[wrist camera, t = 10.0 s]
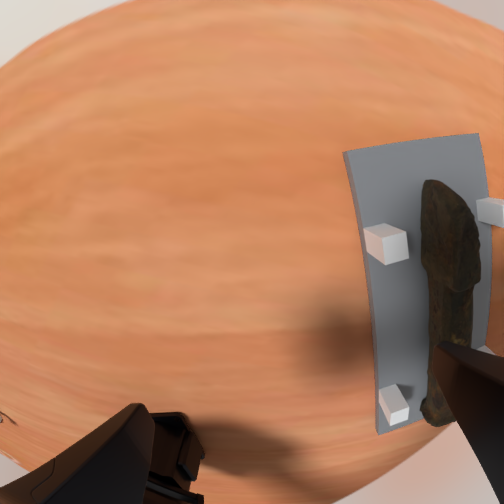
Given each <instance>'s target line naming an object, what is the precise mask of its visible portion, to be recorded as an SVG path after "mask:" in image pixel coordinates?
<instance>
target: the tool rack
mask: <svg viewBox="0 0 504 504" xmlns="http://www.w3.org/2000/svg"><path fill="white" fill-rule="evenodd" d="M342 153H343V157H344V161H345V165H346V169H347V174H348V178H349V183H350V187H351V192H352V197H353V201H354V207H355V212H356V217H357V222H358V228H359V234H360V239H361V246H362V252H363V258H364V265H365V272H366V280H367V288H368V296H369V305H370V314H371V325H372V337H373V351H374V369H375V399H376V431H377V433H378V435H381V434H384V433H387V432H389V431H392V430H395V429H398V428H401V427H403V426H406V425H408V424H411V423H414V422H416V421H419V420H421V419H423V418H424V417H423V415H422V412H421V411H419V410H420V405H421V402H422V400H423V399H425V398H427V383H428V382H427V381H428V375H427V369H428V358H429V332H428V322H429V288H428V276H427V272H426V270H425V269H424V268H423V266H422V264H421V235H422V234H421V230H420V226H421V222H420V218H421V194H422V188H423V184H424V182H425V180H429V179H434V180H439V181H441V182H443V183H444V184H446V185H447V186H448V187H450V188H451V189H452V190H453V191H455V192H456V193H457V194H458V195H459V196H461V197H462V198H463V199H464V200H465V202H466V203H467V205H468V207H469V208H470V209H471V212H472V213H473V215H474V216H475V222H476V225H477V227H478V231H479V238H478V239H479V241H480V244H481V246H480V250H479V252H480V260H481V280H480V282H479V283H477V284H476V285H475V286H474V290H473V330H472V344H471V348H473V349H476V350H479V351H483V352H486V353H490V354H493V355H496V354H495V353H493V352H492V351H491V350H490V349H489V348H488V347H487V346H486V345H485V342H486V335H487V327H488V319H489V309H490V297H491V279H492V233H491V225H495V226H498V227H502V228H504V200H503V199H497V198H491V197H489V193H488V185H487V177H486V170H485V164H484V158H483V153H482V147H481V142H480V138H479V133H475V134H464V135H454V136H444V137H435V138H427V139H420V140H412V141H405V142H398V143H392V144H385V145H379V146H373V147H367V148H361V149H356V150H350V151H346V152H342Z"/></svg>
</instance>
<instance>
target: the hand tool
mask: <svg viewBox="0 0 504 504" xmlns="http://www.w3.org/2000/svg"><path fill="white" fill-rule="evenodd" d="M420 222H421V226H420V230H421V234H422V235H421V264H422V266H423V268H424V269H425V270H426V272H427V276H428V288H429V322H428V332H429V358H428V369H427V375H428V381H427V382H428V383H427V398H425V399H423V400H422V402H421V405H420V410H419V411H421V412H422V415H423V417H424V418H425V420H426V421H427V423H429V424H431V425H432V426H434V427H440V426H443V425H446V424H449V423H451V422H455V421H456V419H455V417H454V416H453V414H452V412H451V410H450V409H449V406H448V404H447V402H446V400H445V398H444V395H443V393H442V391H441V389H440V387H439V385H438V382H437V380H436V378H435V376H434V374H433V371H432V360H433V350H434V346H435V345H436V344H438V343H441V342H444V341H449V342H452V343H456V344H459V345H462V346H466V347H469V348H471V344H472V330H473V290H474V286H475V285H476V284H477V283H479V282H480V280H481V260H480V252H479V250H480V246H481V244H480V241H479V239H478V238H479V231H478V227H477V225H476V222H475V216H474V215H473V213H472V212H471V209H470V208H469V207H468V205H467V203H466V202H465V200H464V199H463V198H462V197H461V196H459V195H458V194H457V193H456V192H455V191H453V190H452V189H451V188H450V187H448V186H447V185H446V184H444V183H443V182H441V181H439V180H434V179H429V180H425V182H424V184H423V188H422V194H421V218H420Z"/></svg>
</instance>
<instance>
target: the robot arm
mask: <svg viewBox="0 0 504 504" xmlns="http://www.w3.org/2000/svg"><path fill="white" fill-rule="evenodd" d="M432 371H433V374H434V376H435V378H436V380H437V382H438V385H439V387H440V389H441V391H442V393H443V395H444V398H445V400H446V402H447V404H448V406H449V409H450V410H451V412H452V414H453V416H454V417H455V419H456V421H457V423H458V424H459V426H460V428H461V429H462V431H463V433H464V435H465V436H466V438H467V440H468V442H469V444H470V445H471V447H472V449H473V451H474V453H475V454H476V456H477V458H478V460H479V462H480V464H481V466H482V468H483V470H484V472H485V474H486V476H487V478H488V480H489V481H490V483H491V486H492V488H493V490H494V492H495V494H496V496H497V498H498V500H499V502H500V504H504V357H500V356H497V355H493V354H490V353H486V352H483V351H479V350H476V349H473V348H469V347H466V346H462V345H459V344H456V343H452V342H449V341H444V342H441V343H438V344H436V345H435V346H434V350H433V360H432ZM177 418H178V419H177ZM204 457H205V453H204V451H203V448H202V446H201V444H200V443H199V441H198V439H197V438H196V436H195V434H194V433H193V432H192V431H191V430H190V428H189V426H188V424H187V423H186V421H185V419H184V417H183V416H182V415H181V414H179V413H164V414H149V412H148V410H147V408H146V407H145V405H144V404H142V403H131V404H129V405H128V406H127V407H125V408H124V409H122V410H121V411H120V412H118V413H117V414H116V415H114V416H113V417H112V418H110V419H109V420H107V421H106V422H105V423H103V424H102V425H100V426H99V427H98V428H96V429H95V430H93V431H92V432H91V433H89V434H88V435H86V436H85V437H83V438H82V439H81V440H79V441H78V442H76V443H75V444H73V445H72V446H70V447H69V448H68V449H66V450H65V451H63V452H62V453H60V454H59V455H57V456H56V458H53V459H51V460H50V461H48V462H47V463H45V464H44V465H42V466H40V467H39V468H37V469H35V470H34V471H32V472H30V473H28V474H26V475H25V476H23V477H21V478H19V479H17V480H15V481H13V482H11V483H9V484H7V485H5V486H3V487H0V504H204V495H201V494H198V493H197V494H195V493H192V492H189V489H190V484H191V481H195V480H196V479H197V475H198V470H199V465H200V460H201V459H204Z"/></svg>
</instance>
